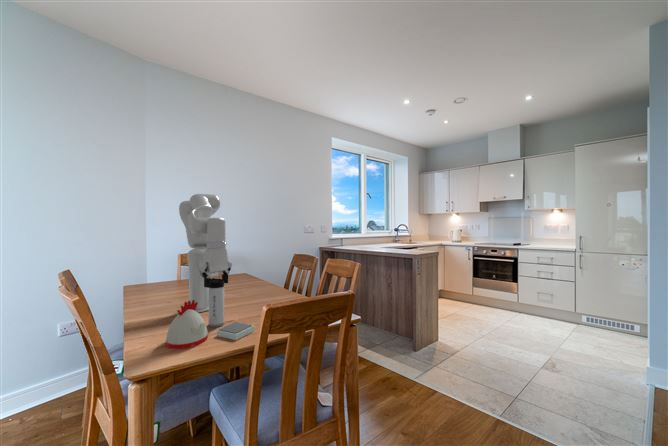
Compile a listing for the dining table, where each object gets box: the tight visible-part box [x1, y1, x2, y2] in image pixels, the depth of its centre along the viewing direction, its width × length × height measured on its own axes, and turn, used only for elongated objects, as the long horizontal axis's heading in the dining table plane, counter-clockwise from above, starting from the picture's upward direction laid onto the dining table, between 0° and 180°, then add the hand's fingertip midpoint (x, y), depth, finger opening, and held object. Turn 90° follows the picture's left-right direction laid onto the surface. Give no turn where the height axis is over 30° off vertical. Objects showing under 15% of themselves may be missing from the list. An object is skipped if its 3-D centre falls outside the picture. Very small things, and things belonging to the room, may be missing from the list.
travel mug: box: [208, 278, 225, 328], centre depth 122 cm, size 6×7×20 cm
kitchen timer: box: [165, 300, 209, 350], centre depth 105 cm, size 14×14×15 cm
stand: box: [216, 321, 255, 341], centre depth 112 cm, size 10×10×2 cm
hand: (216, 285), depth 121 cm, fingers open, 9 cm apart
